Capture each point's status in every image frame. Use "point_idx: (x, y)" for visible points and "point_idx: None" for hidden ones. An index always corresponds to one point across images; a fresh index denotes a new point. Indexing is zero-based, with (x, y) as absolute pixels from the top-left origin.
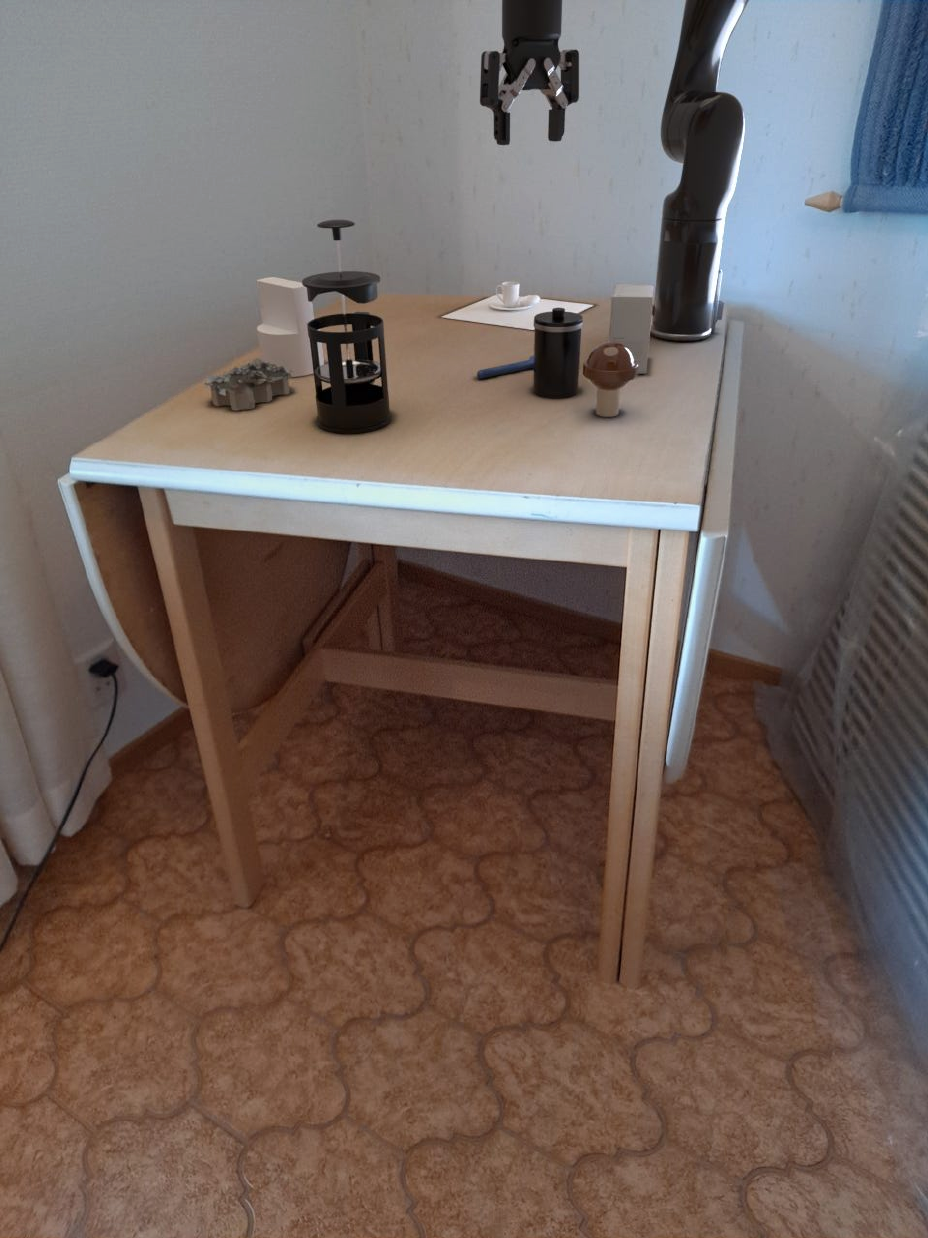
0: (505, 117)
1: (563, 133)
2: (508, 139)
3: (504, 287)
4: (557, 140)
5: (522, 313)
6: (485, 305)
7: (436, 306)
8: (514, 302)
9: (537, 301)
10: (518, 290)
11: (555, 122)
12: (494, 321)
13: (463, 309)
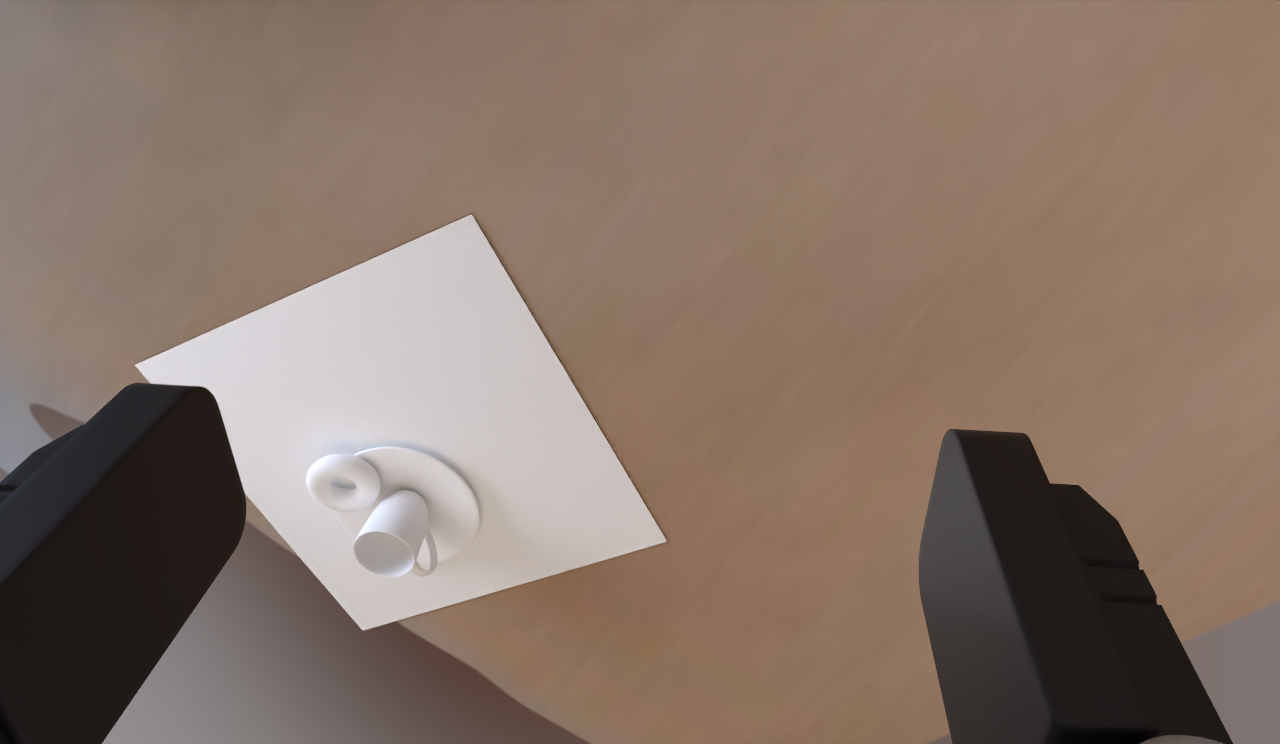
0: (1131, 669)
1: (63, 435)
2: (991, 446)
3: (415, 546)
4: (199, 386)
5: (412, 425)
6: (468, 560)
7: (605, 631)
8: (400, 494)
9: (328, 455)
10: (371, 519)
11: (102, 556)
12: (548, 406)
13: (554, 564)
